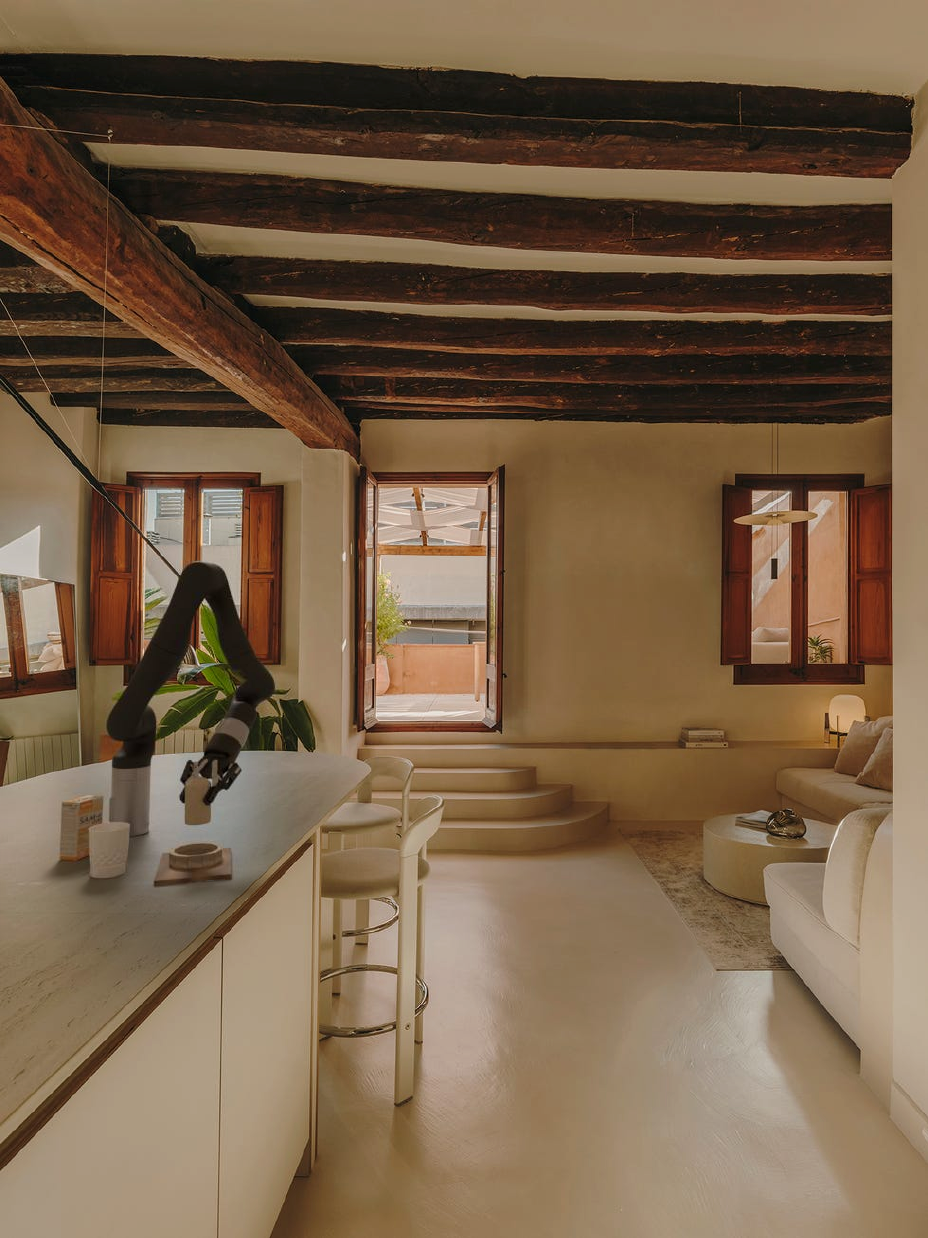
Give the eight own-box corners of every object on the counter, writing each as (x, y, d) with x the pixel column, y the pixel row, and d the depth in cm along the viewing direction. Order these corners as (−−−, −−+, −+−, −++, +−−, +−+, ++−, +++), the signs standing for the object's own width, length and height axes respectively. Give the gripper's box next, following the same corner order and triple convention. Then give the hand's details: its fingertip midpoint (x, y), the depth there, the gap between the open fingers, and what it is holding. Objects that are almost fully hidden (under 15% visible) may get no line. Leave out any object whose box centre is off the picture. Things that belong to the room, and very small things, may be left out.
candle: (188, 819, 159) (189, 775, 159) (213, 819, 159) (214, 775, 160) (181, 825, 153) (181, 780, 154) (206, 825, 154) (207, 779, 154)
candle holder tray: (153, 885, 142) (154, 868, 142) (162, 857, 161) (163, 842, 161) (231, 879, 147) (231, 862, 147) (231, 852, 166) (231, 837, 166)
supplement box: (76, 861, 157) (78, 802, 158) (58, 859, 158) (60, 801, 159) (102, 851, 166) (104, 795, 166) (85, 849, 167) (86, 794, 167)
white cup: (136, 870, 152) (138, 823, 152) (107, 881, 144) (109, 833, 145) (108, 866, 154) (110, 820, 155) (78, 877, 147) (80, 829, 147)
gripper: (195, 730, 167) (159, 791, 155) (247, 732, 163) (214, 795, 151) (208, 749, 172) (174, 809, 160) (259, 752, 168) (229, 814, 156)
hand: (194, 802), depth 155 cm, fingers closed on candle, 5 cm apart
